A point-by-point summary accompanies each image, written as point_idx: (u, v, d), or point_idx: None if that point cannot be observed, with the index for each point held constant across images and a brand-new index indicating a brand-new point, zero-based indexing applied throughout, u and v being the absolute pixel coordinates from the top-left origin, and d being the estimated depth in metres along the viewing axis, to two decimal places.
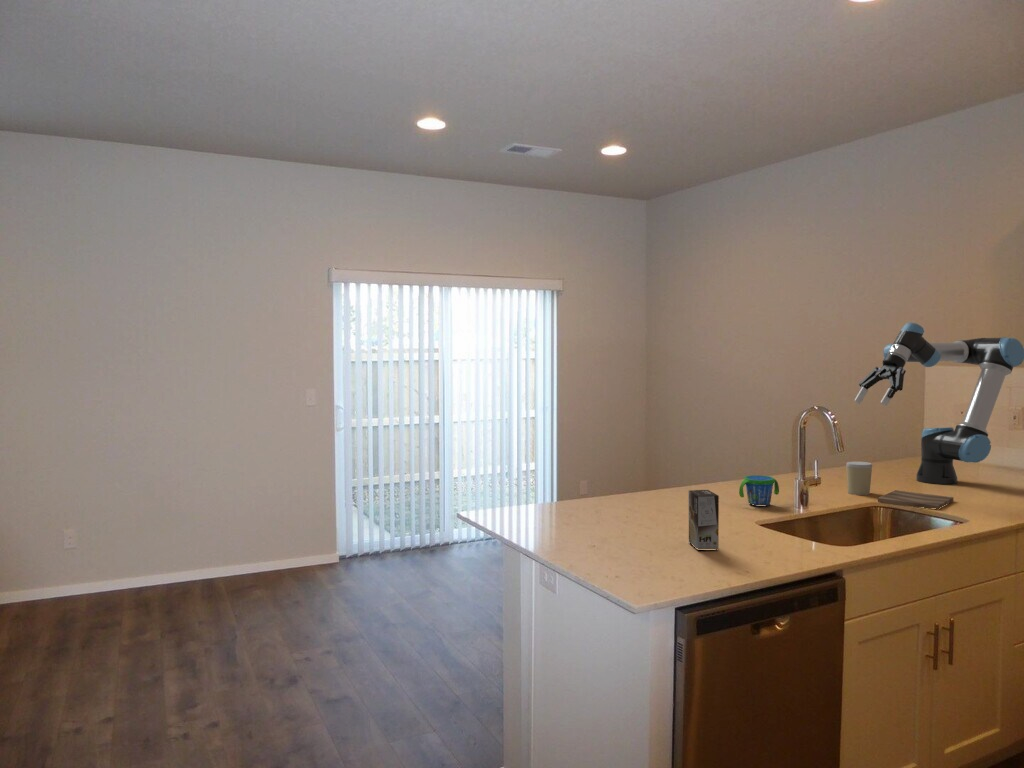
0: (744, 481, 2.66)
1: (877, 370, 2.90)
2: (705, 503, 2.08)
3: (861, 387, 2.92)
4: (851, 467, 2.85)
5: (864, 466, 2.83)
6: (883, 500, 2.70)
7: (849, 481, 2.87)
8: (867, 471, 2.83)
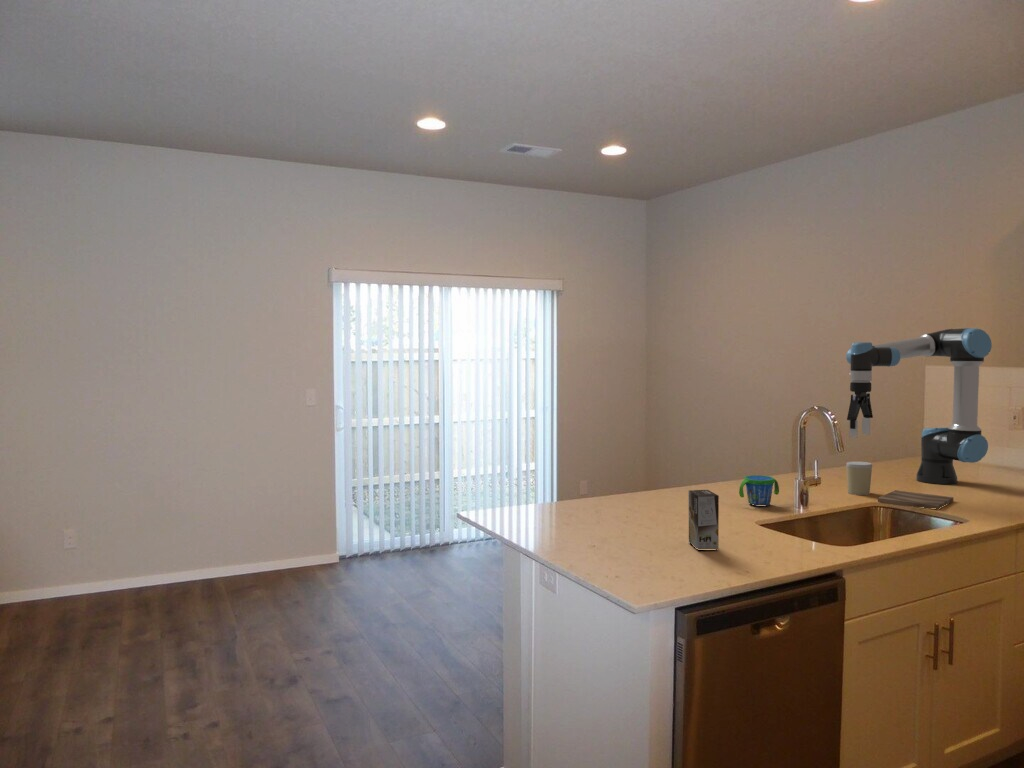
0: (744, 481, 2.66)
1: None
2: (705, 503, 2.08)
3: None
4: (851, 467, 2.85)
5: (864, 466, 2.83)
6: (883, 500, 2.70)
7: (849, 481, 2.87)
8: (867, 471, 2.83)
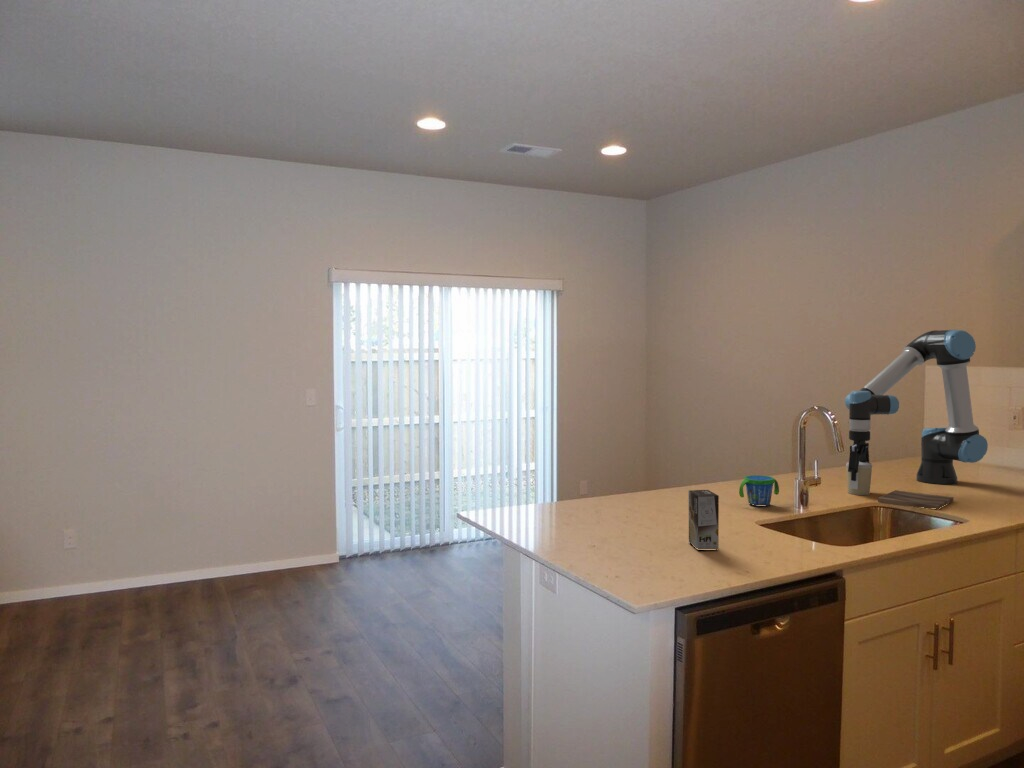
0: (744, 481, 2.66)
1: None
2: (705, 503, 2.08)
3: None
4: None
5: (864, 466, 2.83)
6: (883, 500, 2.70)
7: (849, 481, 2.87)
8: (867, 471, 2.83)
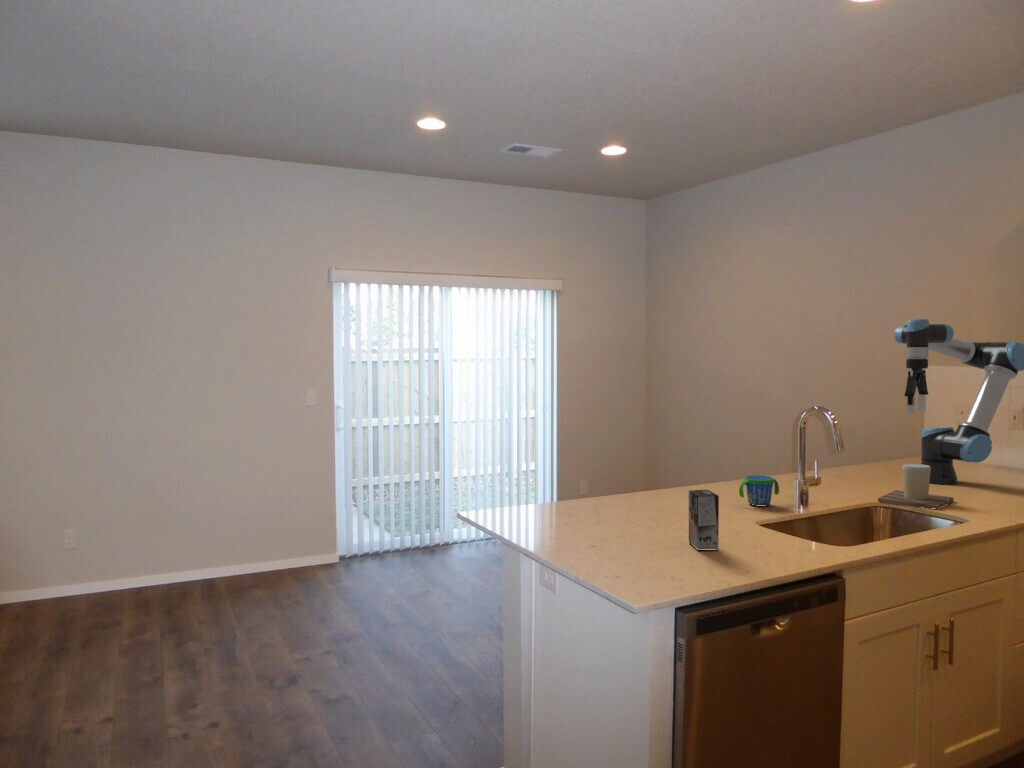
0: (744, 481, 2.66)
1: None
2: (705, 503, 2.08)
3: None
4: (908, 470, 2.69)
5: (923, 469, 2.66)
6: (883, 500, 2.70)
7: (906, 485, 2.70)
8: (925, 474, 2.67)
